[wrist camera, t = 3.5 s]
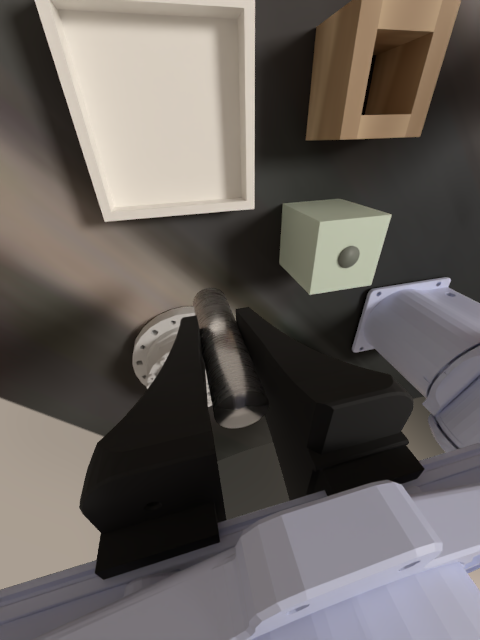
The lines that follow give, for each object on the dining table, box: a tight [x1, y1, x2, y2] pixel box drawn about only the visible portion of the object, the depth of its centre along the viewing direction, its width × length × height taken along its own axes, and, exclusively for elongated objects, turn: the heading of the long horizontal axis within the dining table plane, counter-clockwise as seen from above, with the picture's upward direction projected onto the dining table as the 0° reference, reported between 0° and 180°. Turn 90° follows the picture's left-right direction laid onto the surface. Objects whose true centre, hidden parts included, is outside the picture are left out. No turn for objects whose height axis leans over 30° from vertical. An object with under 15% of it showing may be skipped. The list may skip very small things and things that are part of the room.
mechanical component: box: [132, 307, 212, 407], centre depth 22 cm, size 10×4×10 cm
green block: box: [279, 199, 392, 295], centre depth 18 cm, size 5×5×6 cm
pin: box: [193, 288, 269, 428], centre depth 11 cm, size 2×2×7 cm
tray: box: [35, 0, 255, 222], centre depth 14 cm, size 9×9×2 cm
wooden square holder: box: [306, 0, 461, 140], centre depth 14 cm, size 5×5×4 cm
